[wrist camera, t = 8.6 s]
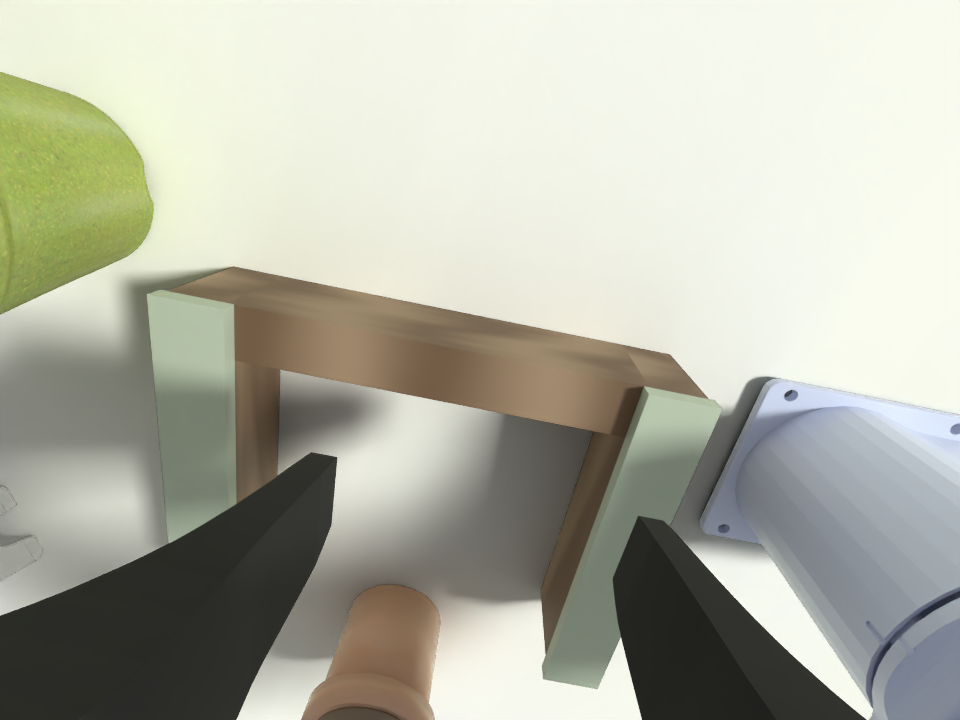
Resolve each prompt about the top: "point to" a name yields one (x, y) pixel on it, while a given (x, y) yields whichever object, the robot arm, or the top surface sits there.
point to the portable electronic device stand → (16, 544)
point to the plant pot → (63, 191)
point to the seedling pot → (381, 660)
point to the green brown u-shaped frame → (434, 375)
